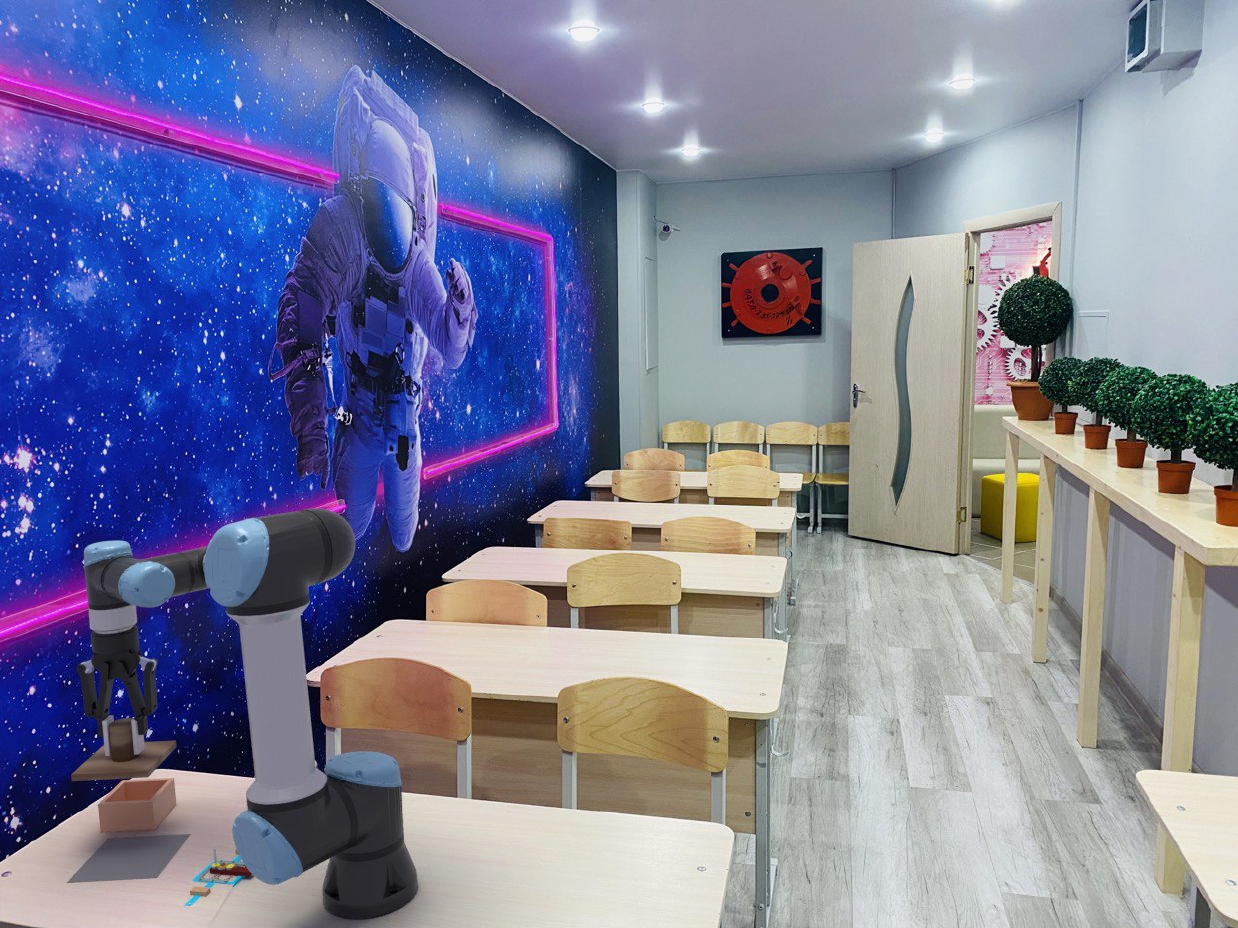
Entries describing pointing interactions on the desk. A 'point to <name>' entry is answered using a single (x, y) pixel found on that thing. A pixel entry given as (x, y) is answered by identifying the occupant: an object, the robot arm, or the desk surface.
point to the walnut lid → (123, 756)
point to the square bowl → (137, 805)
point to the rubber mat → (130, 858)
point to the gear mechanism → (218, 868)
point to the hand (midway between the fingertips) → (125, 751)
